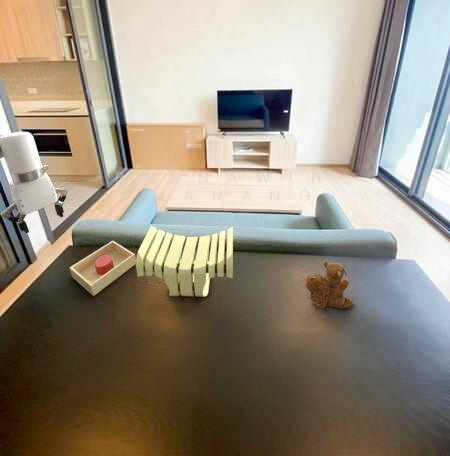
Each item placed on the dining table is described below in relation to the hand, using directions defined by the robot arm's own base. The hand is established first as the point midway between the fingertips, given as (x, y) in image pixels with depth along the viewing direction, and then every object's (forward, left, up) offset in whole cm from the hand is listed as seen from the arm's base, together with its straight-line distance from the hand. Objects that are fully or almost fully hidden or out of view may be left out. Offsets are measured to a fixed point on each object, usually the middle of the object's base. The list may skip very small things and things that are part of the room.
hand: (44, 223), depth 78 cm
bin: (+6, +12, -26) cm, 30 cm away
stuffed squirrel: (+79, +45, -26) cm, 95 cm away
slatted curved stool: (+37, +26, -26) cm, 52 cm away
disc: (+6, +12, -26) cm, 29 cm away
